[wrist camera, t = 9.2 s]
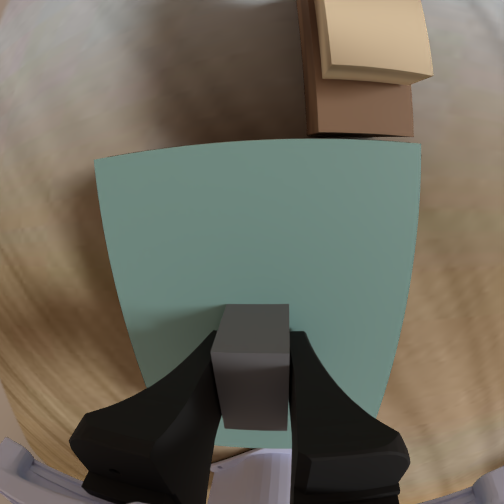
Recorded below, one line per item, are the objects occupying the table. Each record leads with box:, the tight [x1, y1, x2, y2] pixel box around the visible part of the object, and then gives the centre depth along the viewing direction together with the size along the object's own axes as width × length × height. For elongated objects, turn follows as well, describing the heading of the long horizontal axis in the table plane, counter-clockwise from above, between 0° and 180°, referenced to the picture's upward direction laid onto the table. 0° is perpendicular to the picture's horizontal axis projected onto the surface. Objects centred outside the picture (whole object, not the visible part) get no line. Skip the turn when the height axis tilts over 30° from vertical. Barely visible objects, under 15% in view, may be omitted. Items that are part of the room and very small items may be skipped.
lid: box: [94, 139, 421, 449], centre depth 11 cm, size 16×12×4 cm
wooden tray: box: [111, 0, 414, 157], centre depth 13 cm, size 24×12×5 cm, turn 3°
